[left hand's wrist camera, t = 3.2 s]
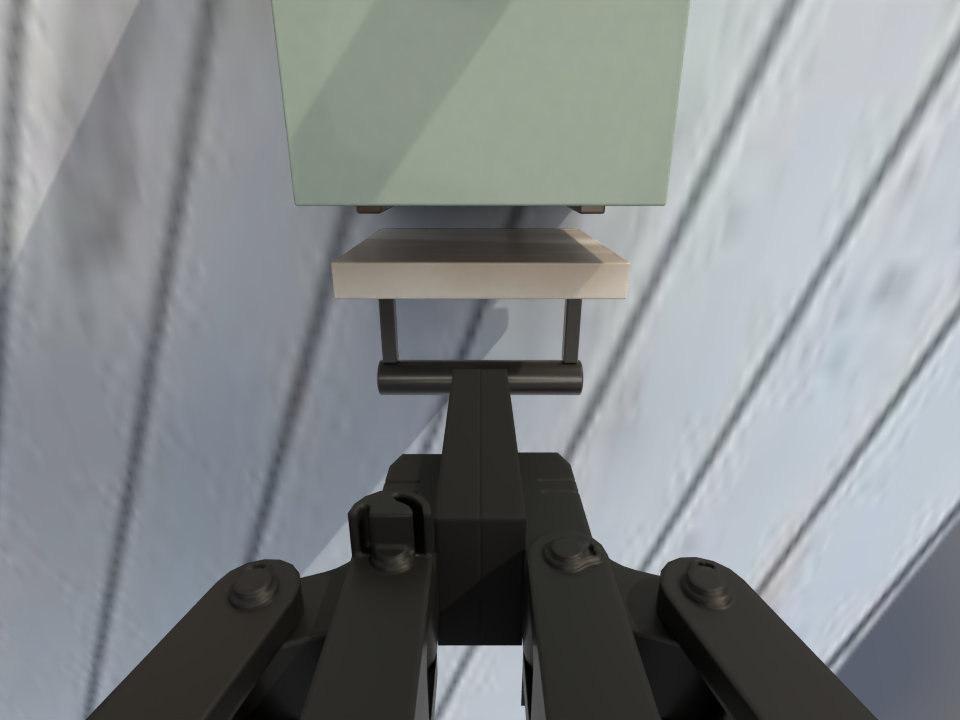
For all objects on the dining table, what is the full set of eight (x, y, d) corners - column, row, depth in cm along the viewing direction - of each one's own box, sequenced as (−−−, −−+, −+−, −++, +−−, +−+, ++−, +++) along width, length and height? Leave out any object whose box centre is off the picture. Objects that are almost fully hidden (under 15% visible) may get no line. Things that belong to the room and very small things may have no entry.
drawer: (571, 355, 28) (612, 441, 19) (388, 354, 28) (347, 441, 19) (611, -262, 19) (716, -603, 11) (349, -262, 19) (245, -603, 11)
